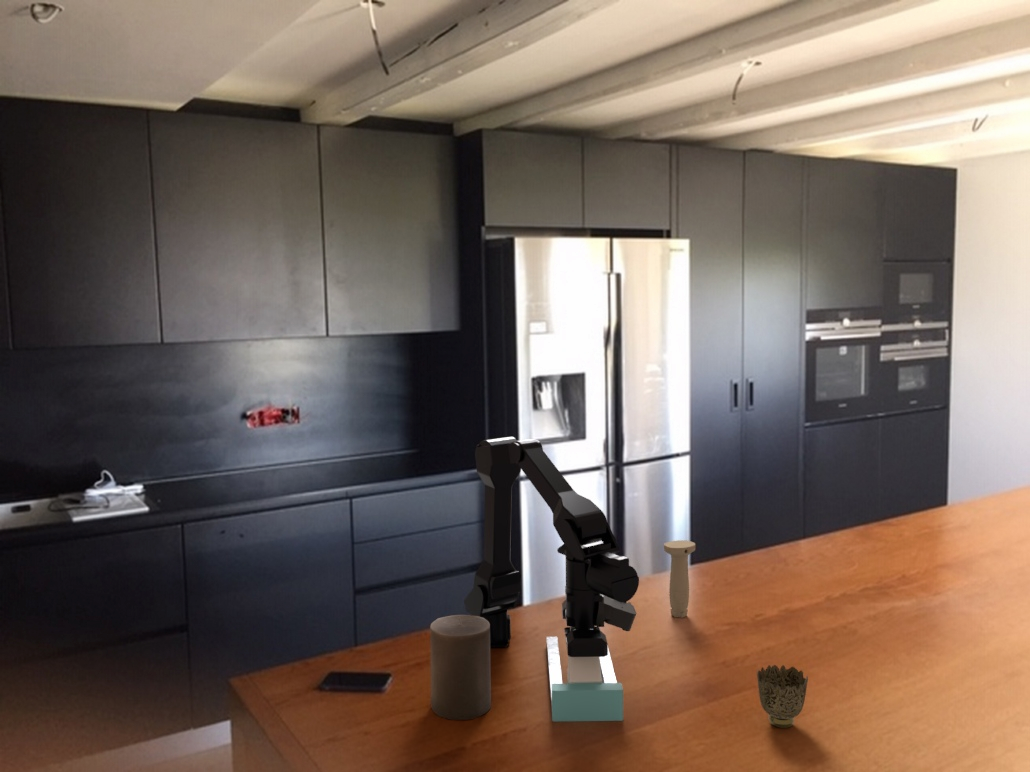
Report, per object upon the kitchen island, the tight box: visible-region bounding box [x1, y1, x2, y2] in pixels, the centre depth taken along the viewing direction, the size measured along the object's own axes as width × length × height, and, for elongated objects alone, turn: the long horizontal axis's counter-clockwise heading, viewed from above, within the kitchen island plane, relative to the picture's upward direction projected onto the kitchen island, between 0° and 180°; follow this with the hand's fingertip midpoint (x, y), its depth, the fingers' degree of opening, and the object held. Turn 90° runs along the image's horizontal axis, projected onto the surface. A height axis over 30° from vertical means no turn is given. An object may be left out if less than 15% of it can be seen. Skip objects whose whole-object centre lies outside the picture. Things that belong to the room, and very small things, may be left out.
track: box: [546, 636, 624, 722], centre depth 152 cm, size 11×28×5 cm, turn 0°
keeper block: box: [566, 655, 602, 683], centre depth 143 cm, size 5×5×6 cm
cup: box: [756, 664, 809, 729], centre depth 136 cm, size 8×7×8 cm
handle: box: [663, 539, 696, 619], centre depth 180 cm, size 5×6×15 cm
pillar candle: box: [429, 614, 492, 721], centre depth 143 cm, size 10×10×15 cm
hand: (583, 675), depth 147 cm, fingers closed
